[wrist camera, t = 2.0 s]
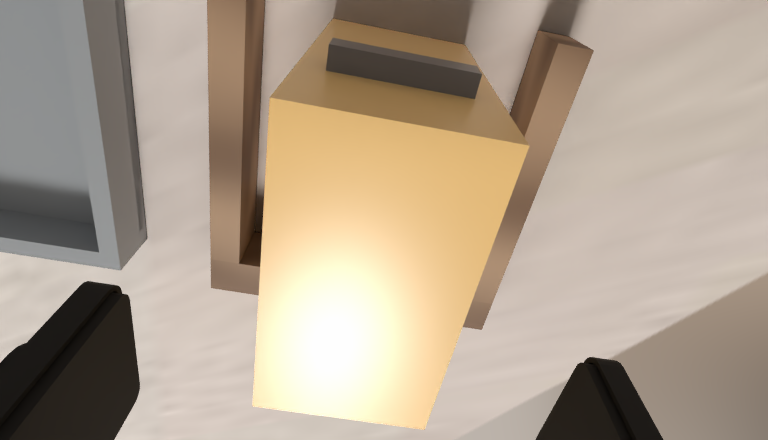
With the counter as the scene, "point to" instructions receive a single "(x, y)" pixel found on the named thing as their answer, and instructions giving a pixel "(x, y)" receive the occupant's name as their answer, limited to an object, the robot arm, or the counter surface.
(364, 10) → the counter surface
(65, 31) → the grey tray
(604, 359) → the robot arm
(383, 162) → the yellow block
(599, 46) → the counter surface
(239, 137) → the walnut bay
